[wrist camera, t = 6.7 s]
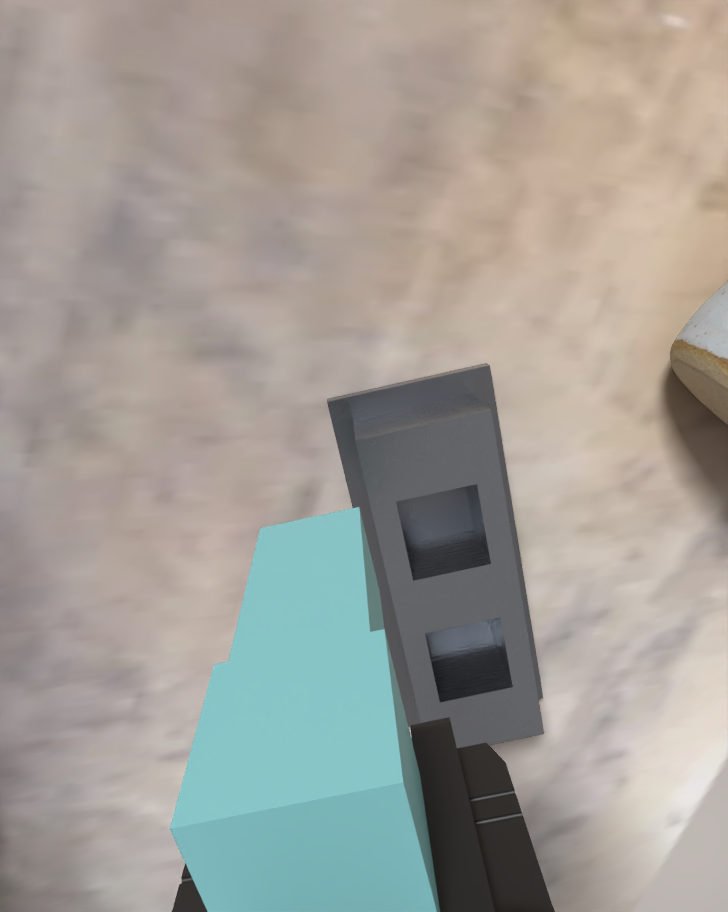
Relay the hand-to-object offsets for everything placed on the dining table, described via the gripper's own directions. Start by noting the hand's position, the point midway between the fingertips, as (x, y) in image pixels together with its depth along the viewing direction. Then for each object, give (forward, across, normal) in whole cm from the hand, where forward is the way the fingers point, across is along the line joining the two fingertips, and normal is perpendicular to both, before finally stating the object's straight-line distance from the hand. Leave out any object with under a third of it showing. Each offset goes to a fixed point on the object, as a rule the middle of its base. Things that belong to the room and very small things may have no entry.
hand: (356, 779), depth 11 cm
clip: (+3, 0, 0) cm, 3 cm away
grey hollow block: (+18, -3, +5) cm, 19 cm away
